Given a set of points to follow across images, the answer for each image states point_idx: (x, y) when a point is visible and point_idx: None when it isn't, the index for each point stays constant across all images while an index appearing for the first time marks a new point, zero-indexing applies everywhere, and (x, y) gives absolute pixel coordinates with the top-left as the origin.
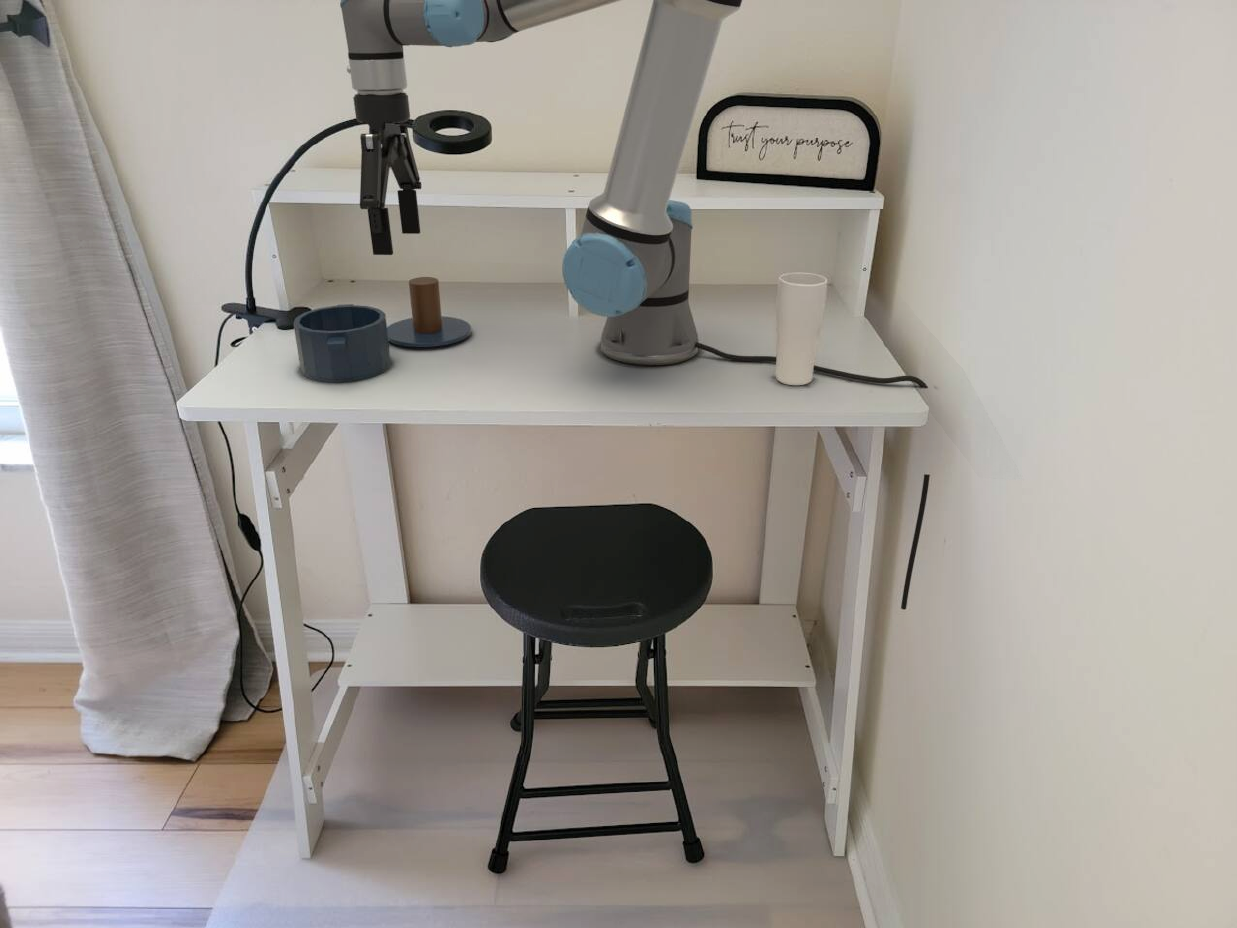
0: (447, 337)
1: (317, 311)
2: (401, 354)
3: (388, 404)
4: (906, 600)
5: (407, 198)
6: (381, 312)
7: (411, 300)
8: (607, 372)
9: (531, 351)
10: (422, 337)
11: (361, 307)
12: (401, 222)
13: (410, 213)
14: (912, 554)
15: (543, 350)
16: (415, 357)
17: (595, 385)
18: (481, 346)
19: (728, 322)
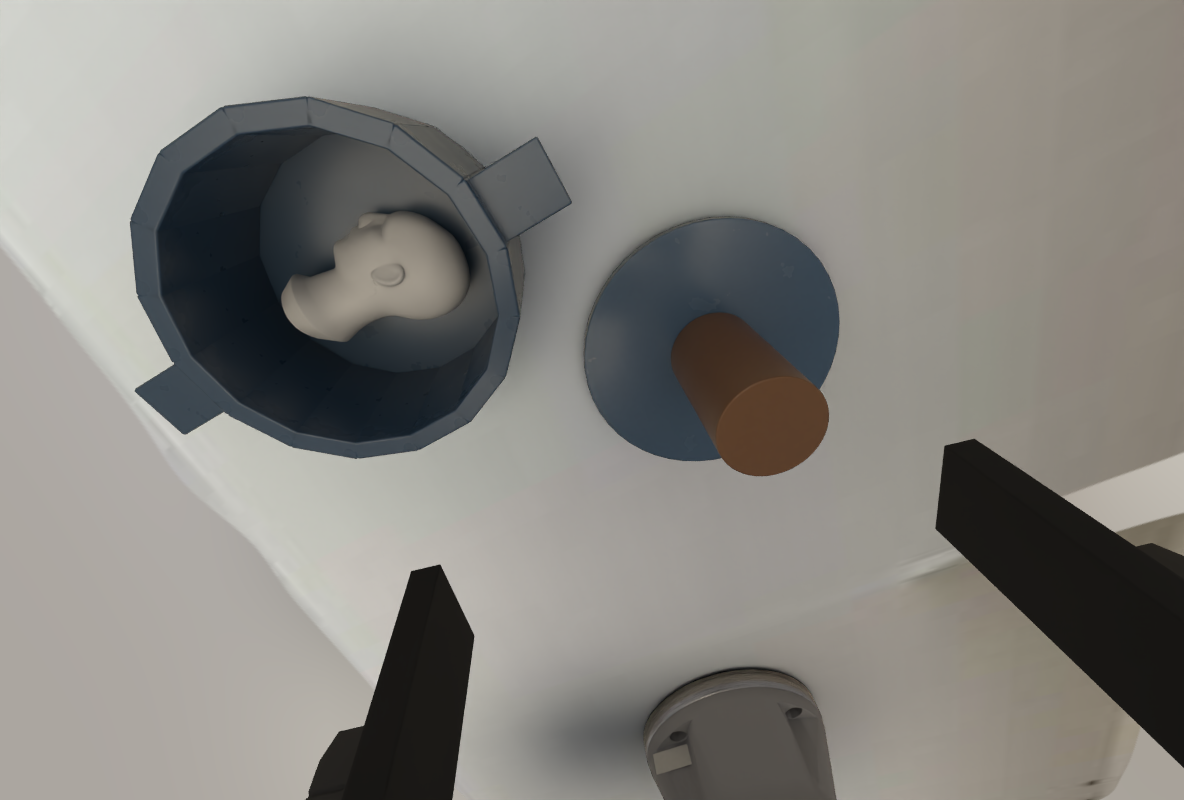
0: (658, 434)
1: (367, 142)
2: (546, 351)
3: (247, 492)
4: None
5: (1167, 688)
6: (472, 406)
7: (712, 368)
8: (599, 713)
9: (665, 587)
10: (640, 375)
11: (496, 302)
12: (1002, 488)
13: (1044, 590)
14: None
15: (677, 602)
16: (540, 396)
17: (534, 719)
18: (667, 494)
19: (889, 761)
